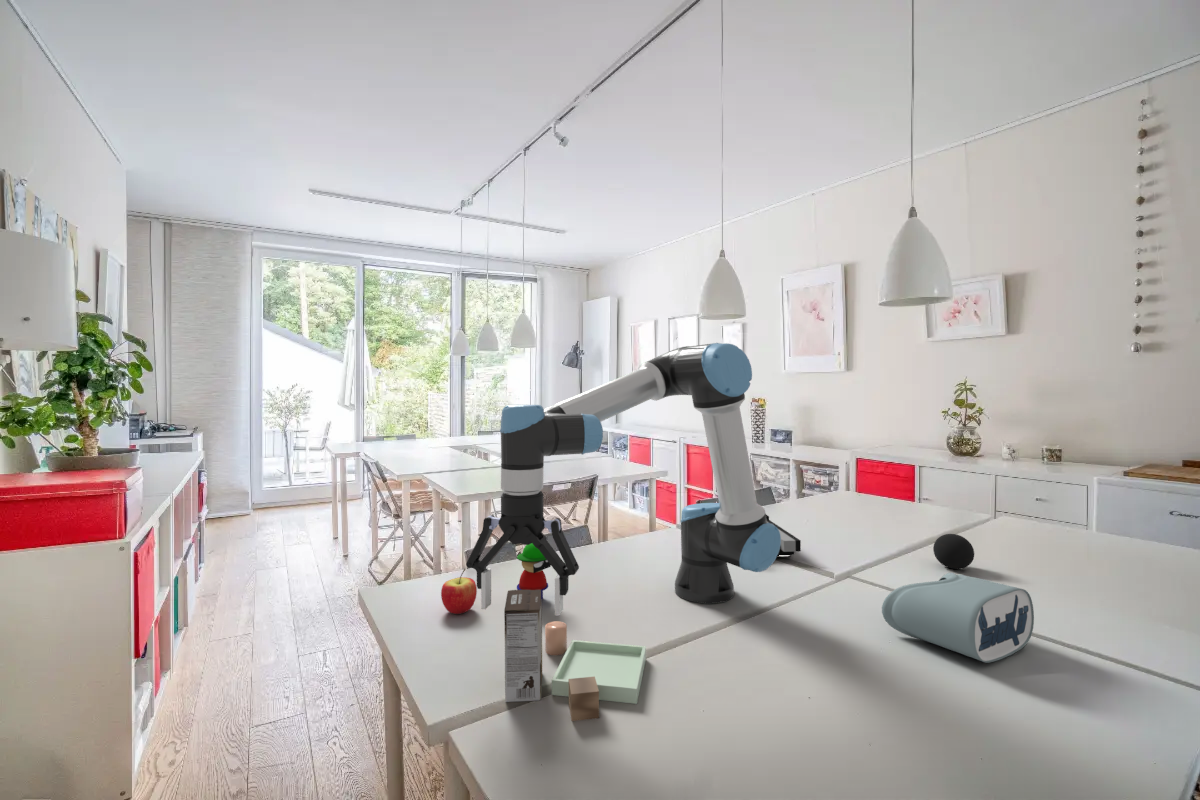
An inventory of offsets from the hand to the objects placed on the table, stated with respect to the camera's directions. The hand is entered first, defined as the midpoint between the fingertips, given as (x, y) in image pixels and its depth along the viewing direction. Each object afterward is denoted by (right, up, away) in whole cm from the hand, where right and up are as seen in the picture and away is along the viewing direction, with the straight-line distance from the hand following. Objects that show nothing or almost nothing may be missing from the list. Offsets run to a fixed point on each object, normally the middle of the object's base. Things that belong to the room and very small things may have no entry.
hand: (522, 609), depth 95 cm
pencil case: (+89, -14, +17) cm, 92 cm away
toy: (-3, -13, +39) cm, 41 cm away
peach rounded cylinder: (+5, -14, +14) cm, 20 cm away
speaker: (+118, -12, +61) cm, 133 cm away
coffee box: (0, -14, +1) cm, 14 cm away
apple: (-20, -14, +33) cm, 41 cm away
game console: (+64, -12, +82) cm, 105 cm away
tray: (+14, -14, +4) cm, 20 cm away
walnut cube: (+11, -14, -7) cm, 19 cm away
